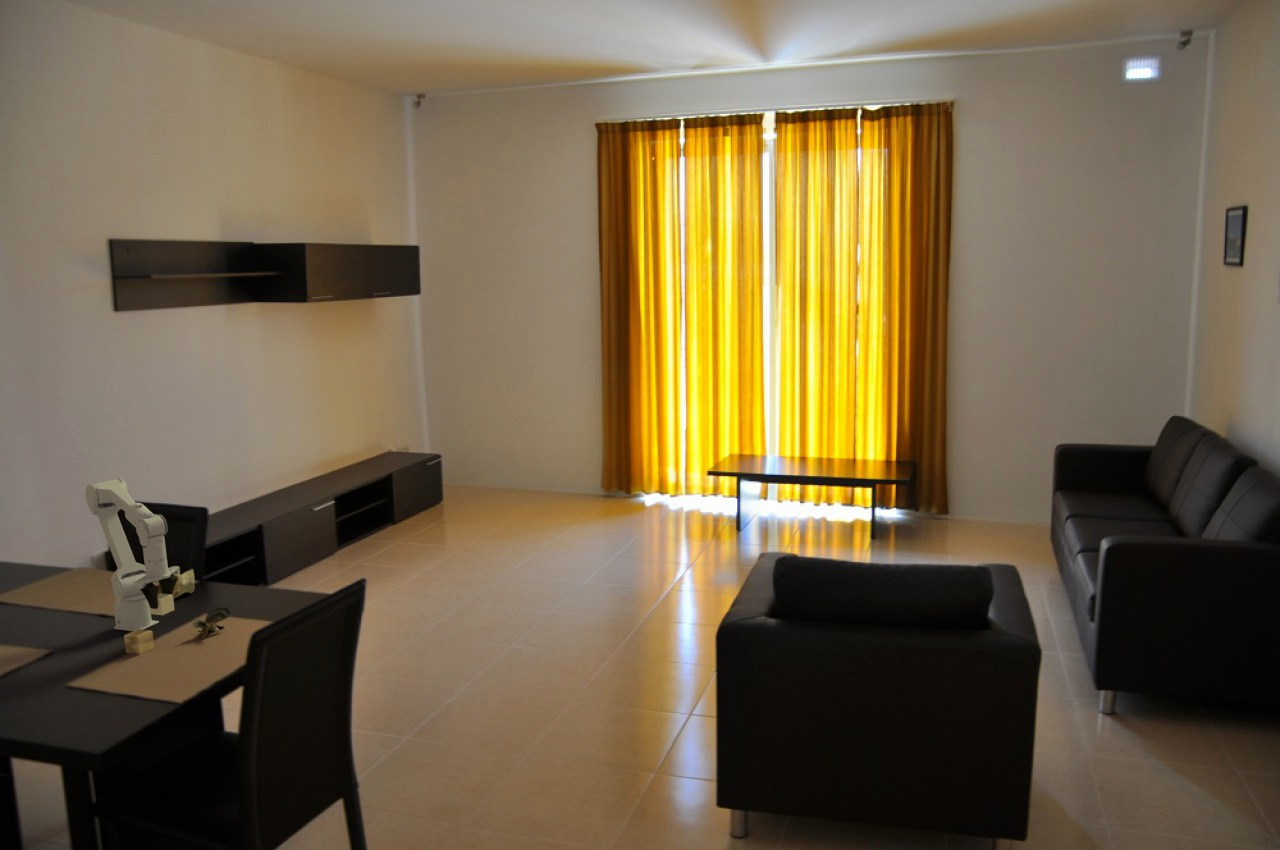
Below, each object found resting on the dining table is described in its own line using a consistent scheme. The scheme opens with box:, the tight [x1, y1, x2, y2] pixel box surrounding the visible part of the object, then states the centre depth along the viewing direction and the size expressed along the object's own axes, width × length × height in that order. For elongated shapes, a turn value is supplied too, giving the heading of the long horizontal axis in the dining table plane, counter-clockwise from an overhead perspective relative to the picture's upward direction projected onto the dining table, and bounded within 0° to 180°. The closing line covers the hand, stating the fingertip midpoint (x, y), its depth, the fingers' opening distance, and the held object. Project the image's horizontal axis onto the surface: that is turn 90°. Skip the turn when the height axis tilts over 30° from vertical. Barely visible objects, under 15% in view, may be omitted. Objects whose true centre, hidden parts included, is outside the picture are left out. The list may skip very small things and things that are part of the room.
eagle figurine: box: [191, 606, 231, 639], centre depth 298 cm, size 8×8×10 cm
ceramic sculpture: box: [157, 568, 196, 600], centre depth 330 cm, size 11×9×15 cm
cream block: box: [149, 593, 175, 616], centre depth 295 cm, size 4×4×4 cm
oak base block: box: [123, 629, 155, 655], centre depth 287 cm, size 5×5×5 cm
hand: (161, 605), depth 295 cm, fingers closed on cream block, 4 cm apart
